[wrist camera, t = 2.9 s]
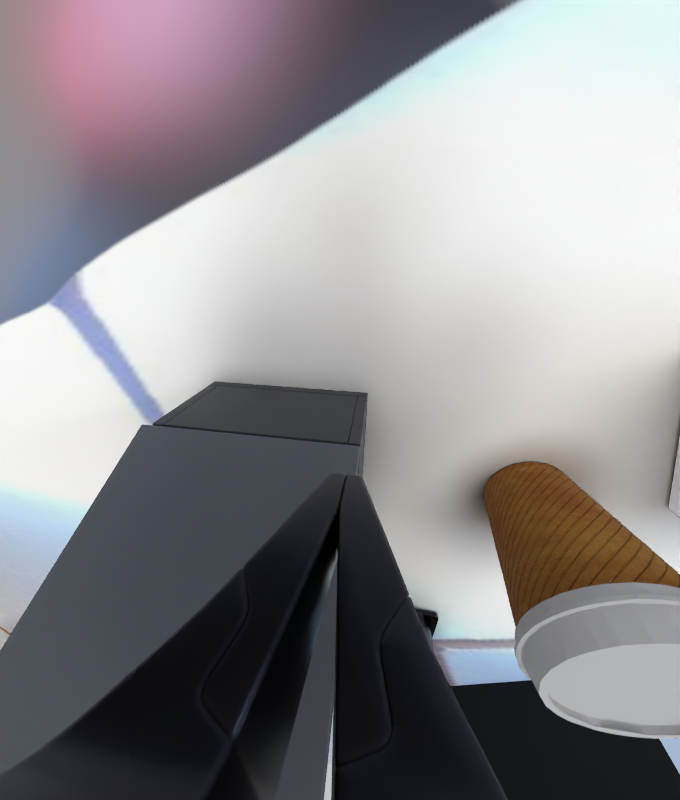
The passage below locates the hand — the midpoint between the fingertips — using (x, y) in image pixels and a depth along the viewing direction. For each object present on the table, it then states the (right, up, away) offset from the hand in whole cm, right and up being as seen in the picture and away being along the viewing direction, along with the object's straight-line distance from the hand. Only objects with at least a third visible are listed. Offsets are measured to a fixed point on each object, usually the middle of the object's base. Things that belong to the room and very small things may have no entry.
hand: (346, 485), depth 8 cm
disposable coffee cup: (+15, -5, +15) cm, 22 cm away
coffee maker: (+22, -43, +32) cm, 59 cm away
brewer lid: (-6, -6, +4) cm, 9 cm away
